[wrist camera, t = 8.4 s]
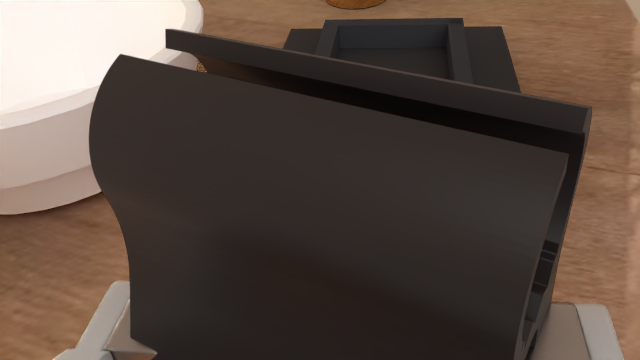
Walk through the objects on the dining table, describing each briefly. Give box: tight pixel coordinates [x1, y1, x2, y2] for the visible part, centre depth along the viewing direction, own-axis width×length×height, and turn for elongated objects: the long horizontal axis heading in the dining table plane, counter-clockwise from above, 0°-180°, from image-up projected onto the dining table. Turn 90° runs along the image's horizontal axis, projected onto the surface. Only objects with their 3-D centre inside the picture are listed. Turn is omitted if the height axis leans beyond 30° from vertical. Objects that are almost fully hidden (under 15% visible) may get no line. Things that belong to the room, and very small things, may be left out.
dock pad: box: [283, 18, 521, 93], centre depth 42 cm, size 18×20×3 cm
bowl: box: [0, 0, 203, 215], centre depth 37 cm, size 22×22×8 cm
